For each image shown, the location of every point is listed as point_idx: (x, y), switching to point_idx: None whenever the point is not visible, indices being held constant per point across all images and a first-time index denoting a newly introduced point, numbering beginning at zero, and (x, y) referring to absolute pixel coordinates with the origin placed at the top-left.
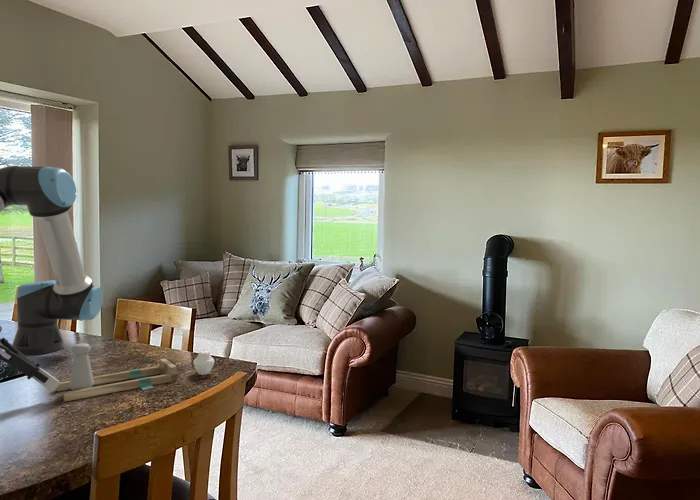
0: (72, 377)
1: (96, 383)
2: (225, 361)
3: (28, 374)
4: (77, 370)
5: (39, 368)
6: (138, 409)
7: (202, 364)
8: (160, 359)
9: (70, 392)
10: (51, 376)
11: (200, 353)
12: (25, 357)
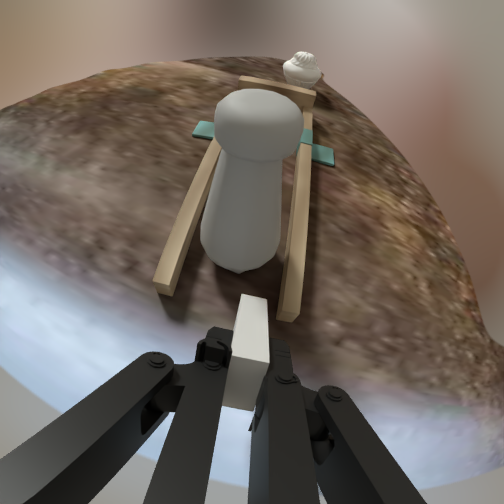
0: (250, 245)
1: (206, 197)
2: (262, 61)
3: (333, 441)
4: (270, 215)
5: (258, 363)
6: (430, 226)
7: (318, 76)
8: (242, 79)
9: (298, 293)
10: (262, 320)
11: (308, 57)
12: (181, 428)
